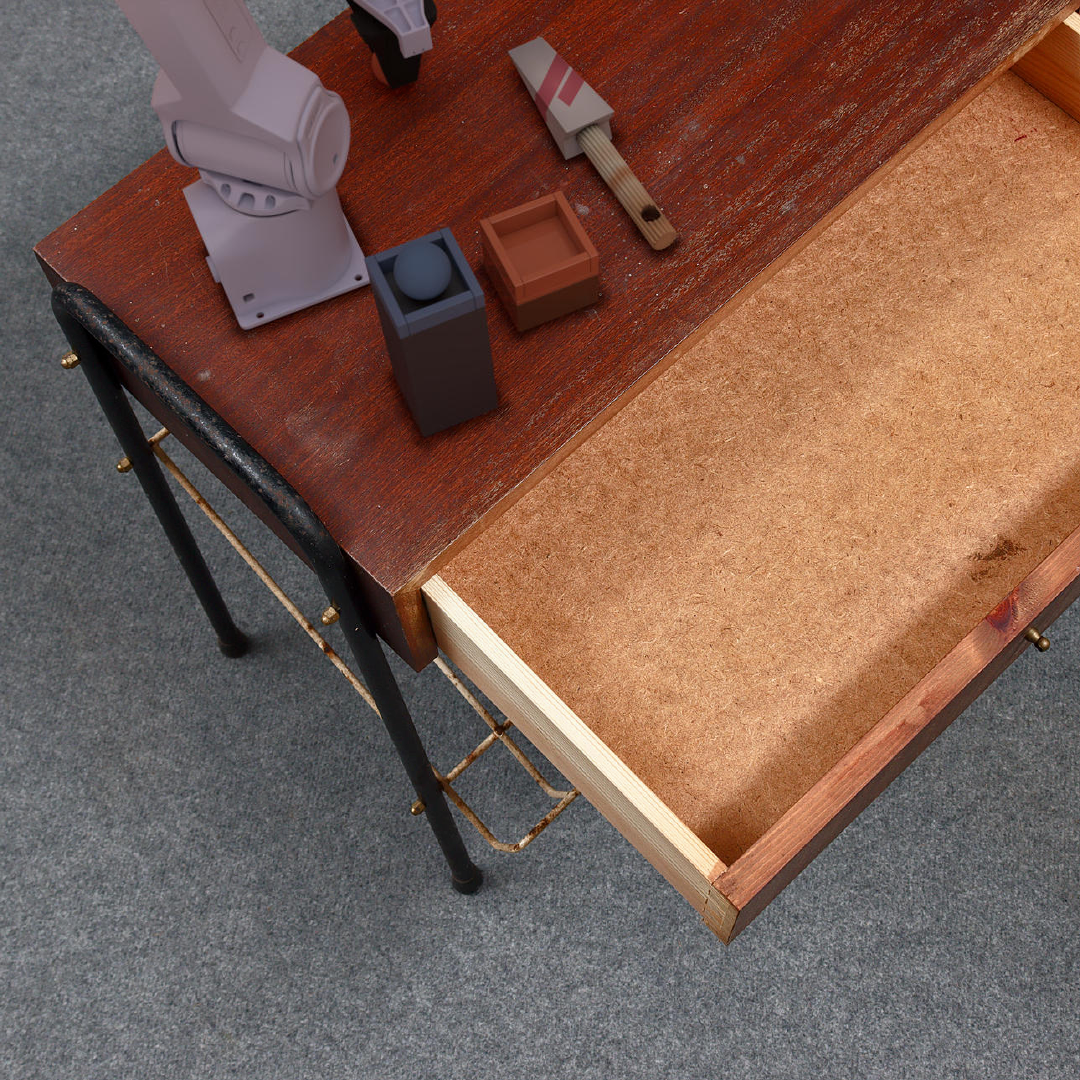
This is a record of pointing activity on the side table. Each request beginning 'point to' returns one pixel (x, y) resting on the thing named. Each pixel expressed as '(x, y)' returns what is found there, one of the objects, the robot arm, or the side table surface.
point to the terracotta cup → (540, 260)
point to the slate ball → (422, 270)
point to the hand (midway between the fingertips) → (394, 65)
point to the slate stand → (437, 340)
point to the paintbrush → (586, 131)
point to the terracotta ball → (378, 70)
